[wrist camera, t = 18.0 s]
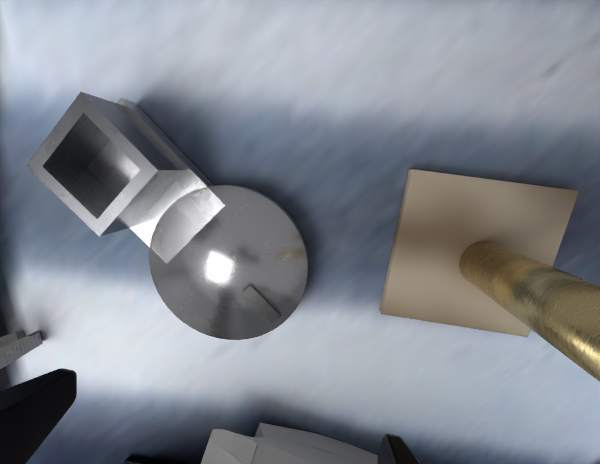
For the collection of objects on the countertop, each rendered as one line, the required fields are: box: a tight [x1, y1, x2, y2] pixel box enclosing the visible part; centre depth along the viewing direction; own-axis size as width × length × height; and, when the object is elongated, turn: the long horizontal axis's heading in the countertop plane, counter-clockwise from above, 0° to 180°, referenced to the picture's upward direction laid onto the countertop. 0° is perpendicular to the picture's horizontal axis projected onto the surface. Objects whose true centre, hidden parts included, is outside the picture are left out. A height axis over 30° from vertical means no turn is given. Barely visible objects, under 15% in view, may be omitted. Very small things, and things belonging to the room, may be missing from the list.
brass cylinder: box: [459, 241, 600, 381], centre depth 13 cm, size 3×3×10 cm
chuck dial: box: [26, 92, 308, 340], centre depth 18 cm, size 18×11×4 cm, turn 43°
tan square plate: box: [379, 169, 579, 337], centre depth 19 cm, size 10×10×1 cm
